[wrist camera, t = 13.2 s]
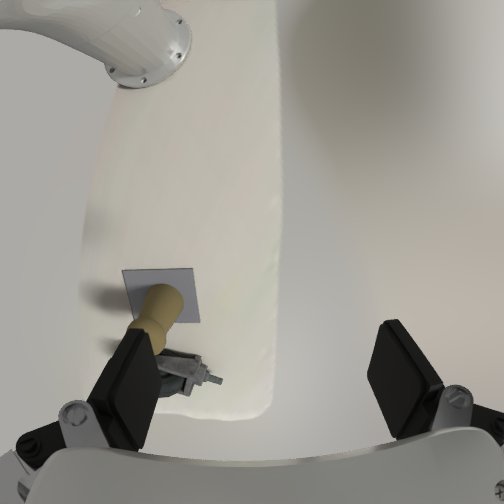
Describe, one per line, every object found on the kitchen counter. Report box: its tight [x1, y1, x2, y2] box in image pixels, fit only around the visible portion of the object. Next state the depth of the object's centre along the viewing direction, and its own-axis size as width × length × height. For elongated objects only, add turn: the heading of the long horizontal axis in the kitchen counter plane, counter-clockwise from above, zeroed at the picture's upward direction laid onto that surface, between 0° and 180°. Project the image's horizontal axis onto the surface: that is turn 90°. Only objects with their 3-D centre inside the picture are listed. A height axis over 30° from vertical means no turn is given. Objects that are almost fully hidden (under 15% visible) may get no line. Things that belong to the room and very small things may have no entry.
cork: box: [126, 283, 184, 355], centre depth 36 cm, size 6×6×11 cm
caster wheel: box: [155, 349, 223, 398], centre depth 41 cm, size 6×10×15 cm
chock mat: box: [123, 268, 200, 323], centre depth 41 cm, size 9×11×1 cm
